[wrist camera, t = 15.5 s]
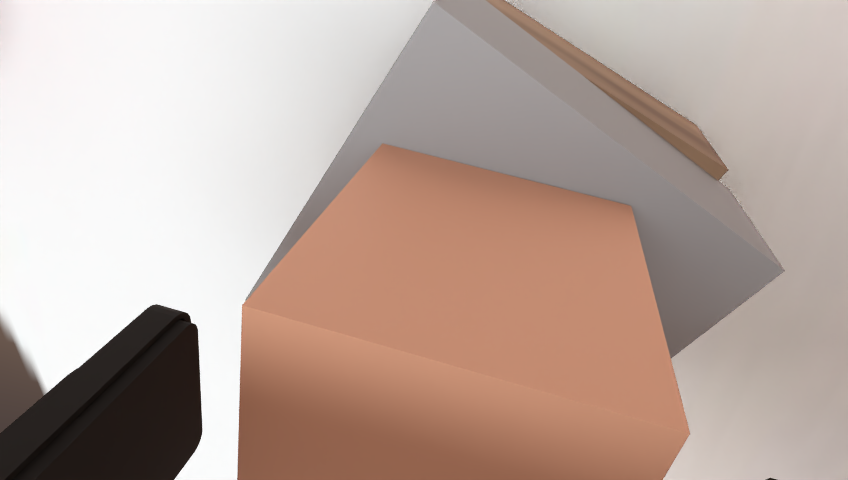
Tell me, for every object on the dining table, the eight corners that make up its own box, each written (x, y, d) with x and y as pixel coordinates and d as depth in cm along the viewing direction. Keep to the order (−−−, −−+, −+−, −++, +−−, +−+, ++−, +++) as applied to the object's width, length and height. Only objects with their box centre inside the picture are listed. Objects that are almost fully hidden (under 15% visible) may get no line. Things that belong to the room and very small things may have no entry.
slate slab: (466, -15, 16) (433, 1, 12) (728, 189, 18) (784, 270, 13) (308, 227, 21) (245, 300, 17) (522, 374, 22) (513, 478, 18)
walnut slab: (470, -23, 21) (446, -13, 17) (694, 123, 22) (728, 169, 17) (354, 188, 26) (312, 238, 22) (540, 301, 27) (536, 372, 22)
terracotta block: (631, 205, 13) (689, 433, 7) (555, 393, 16) (551, 666, 10) (382, 143, 14) (241, 305, 8) (353, 335, 17) (235, 561, 11)
